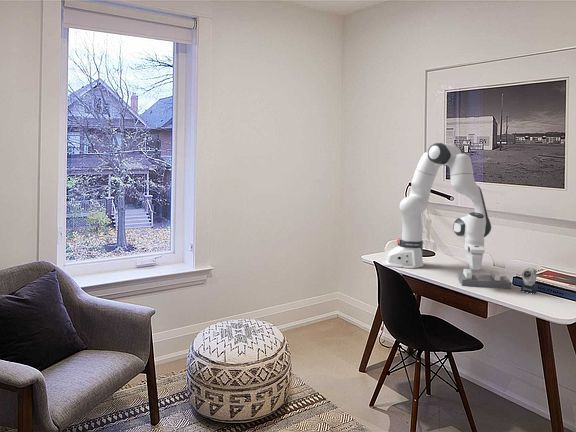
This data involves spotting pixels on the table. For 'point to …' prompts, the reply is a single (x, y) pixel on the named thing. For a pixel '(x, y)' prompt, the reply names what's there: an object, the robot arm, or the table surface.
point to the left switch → (467, 274)
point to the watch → (529, 281)
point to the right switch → (495, 275)
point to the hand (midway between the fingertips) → (471, 274)
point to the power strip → (484, 281)
